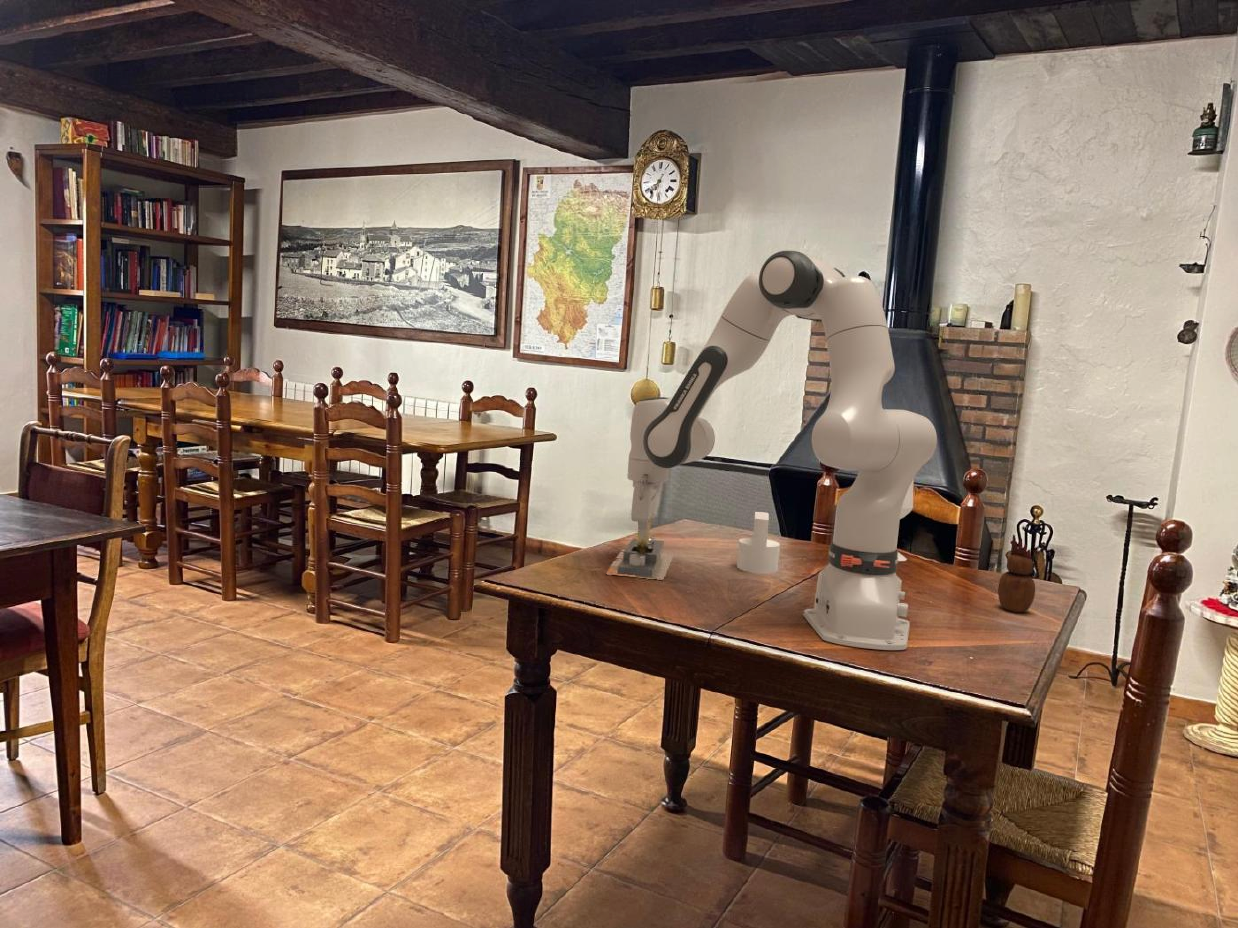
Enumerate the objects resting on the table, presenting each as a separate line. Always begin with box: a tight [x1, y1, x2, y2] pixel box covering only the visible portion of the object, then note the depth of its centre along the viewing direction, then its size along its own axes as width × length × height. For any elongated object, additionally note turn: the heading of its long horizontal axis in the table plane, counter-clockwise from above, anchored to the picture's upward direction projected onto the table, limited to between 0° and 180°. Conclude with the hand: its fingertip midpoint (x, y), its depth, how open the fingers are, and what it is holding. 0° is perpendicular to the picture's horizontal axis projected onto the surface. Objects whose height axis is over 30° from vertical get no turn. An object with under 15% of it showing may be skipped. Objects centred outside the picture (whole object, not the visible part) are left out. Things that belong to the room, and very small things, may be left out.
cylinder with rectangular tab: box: [736, 511, 781, 575], centre depth 199 cm, size 9×9×12 cm
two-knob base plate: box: [610, 536, 675, 581], centre depth 195 cm, size 23×12×4 cm, turn 171°
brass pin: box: [636, 512, 655, 553], centre depth 195 cm, size 4×4×10 cm
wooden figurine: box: [997, 534, 1036, 613], centre depth 178 cm, size 7×6×15 cm
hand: (643, 535), depth 195 cm, fingers closed on brass pin, 3 cm apart
